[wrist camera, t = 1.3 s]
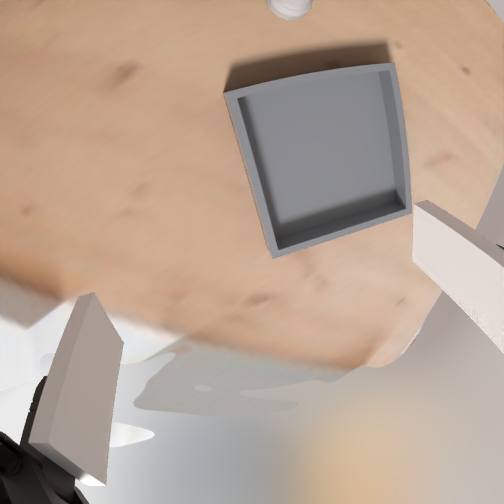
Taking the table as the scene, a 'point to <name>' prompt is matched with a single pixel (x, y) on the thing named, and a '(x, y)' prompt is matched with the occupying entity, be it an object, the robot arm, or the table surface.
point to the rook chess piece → (290, 8)
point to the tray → (323, 153)
